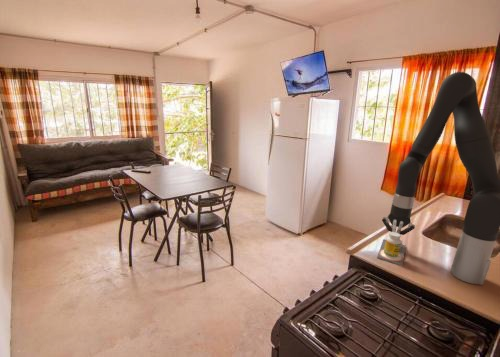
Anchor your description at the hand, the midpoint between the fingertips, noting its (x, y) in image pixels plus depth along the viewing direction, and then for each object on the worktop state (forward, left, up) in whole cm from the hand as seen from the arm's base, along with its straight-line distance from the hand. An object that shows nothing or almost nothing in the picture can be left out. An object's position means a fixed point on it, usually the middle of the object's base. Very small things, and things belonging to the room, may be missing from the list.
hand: (394, 241), depth 113 cm
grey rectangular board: (0, +5, -3) cm, 6 cm away
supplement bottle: (0, +9, -3) cm, 9 cm away
